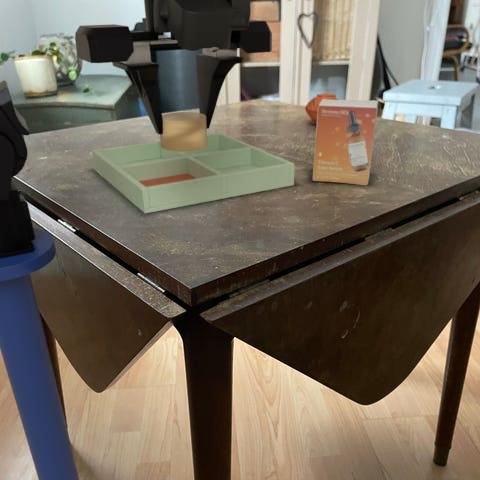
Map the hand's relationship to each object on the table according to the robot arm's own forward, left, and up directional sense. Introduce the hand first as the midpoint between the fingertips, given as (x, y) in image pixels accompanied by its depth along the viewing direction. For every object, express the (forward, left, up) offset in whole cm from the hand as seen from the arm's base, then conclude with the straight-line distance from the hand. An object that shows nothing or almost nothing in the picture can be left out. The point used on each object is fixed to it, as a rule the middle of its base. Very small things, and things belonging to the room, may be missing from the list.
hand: (182, 130), depth 58 cm
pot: (+46, +36, -11) cm, 60 cm away
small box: (+27, +6, -11) cm, 30 cm away
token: (0, 0, -2) cm, 2 cm away
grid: (+8, +18, -11) cm, 23 cm away
